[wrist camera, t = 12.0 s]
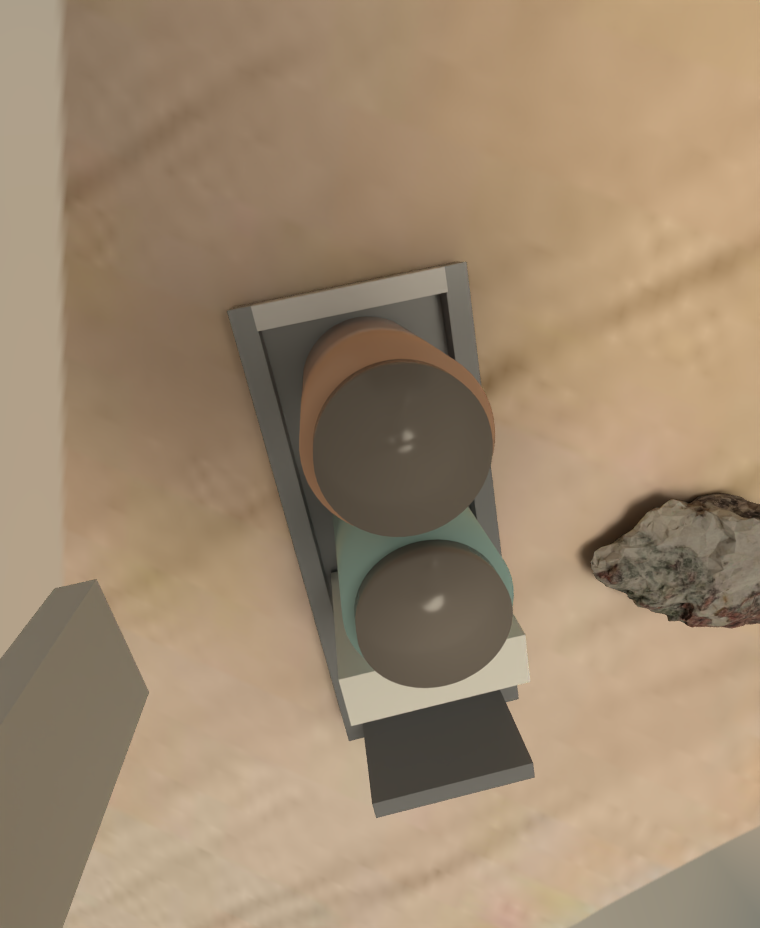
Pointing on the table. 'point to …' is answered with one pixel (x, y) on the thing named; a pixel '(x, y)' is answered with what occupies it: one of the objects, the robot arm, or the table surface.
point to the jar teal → (424, 600)
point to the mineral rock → (690, 561)
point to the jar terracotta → (392, 429)
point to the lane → (311, 526)
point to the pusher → (385, 698)
